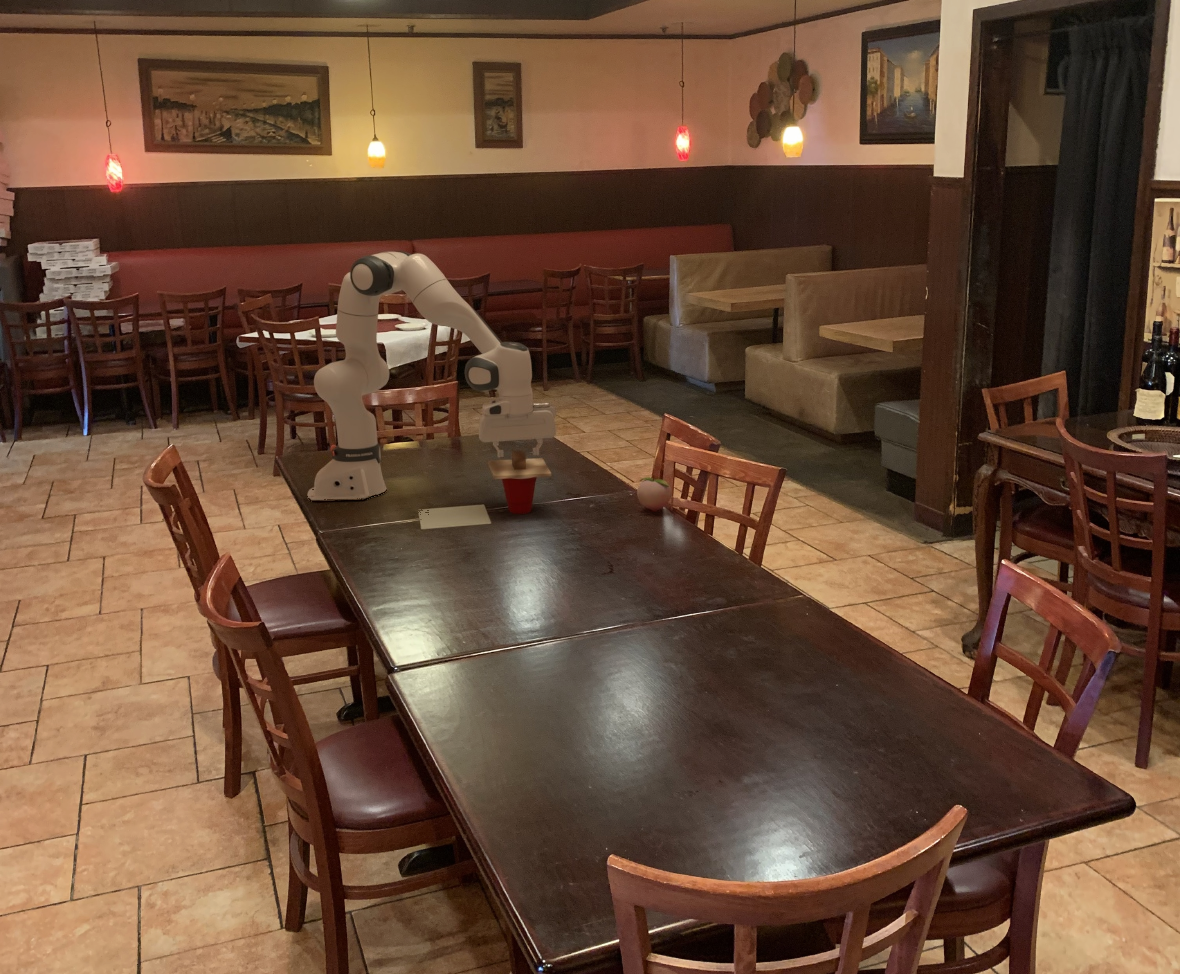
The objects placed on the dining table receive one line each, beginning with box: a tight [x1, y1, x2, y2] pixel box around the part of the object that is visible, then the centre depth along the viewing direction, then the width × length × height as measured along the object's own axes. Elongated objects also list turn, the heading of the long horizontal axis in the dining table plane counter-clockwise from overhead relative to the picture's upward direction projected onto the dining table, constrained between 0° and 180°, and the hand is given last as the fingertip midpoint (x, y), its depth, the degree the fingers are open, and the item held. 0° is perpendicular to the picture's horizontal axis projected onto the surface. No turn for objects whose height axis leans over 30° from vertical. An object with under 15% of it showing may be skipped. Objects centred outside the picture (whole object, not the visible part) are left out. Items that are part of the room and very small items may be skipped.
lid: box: [487, 449, 552, 480], centre depth 294 cm, size 15×15×5 cm
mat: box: [418, 504, 492, 530], centre depth 294 cm, size 18×18×1 cm
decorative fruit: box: [636, 474, 672, 512], centre depth 294 cm, size 9×8×10 cm
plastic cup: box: [501, 477, 538, 515], centre depth 296 cm, size 11×11×12 cm
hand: (518, 456), depth 293 cm, fingers open, 8 cm apart
